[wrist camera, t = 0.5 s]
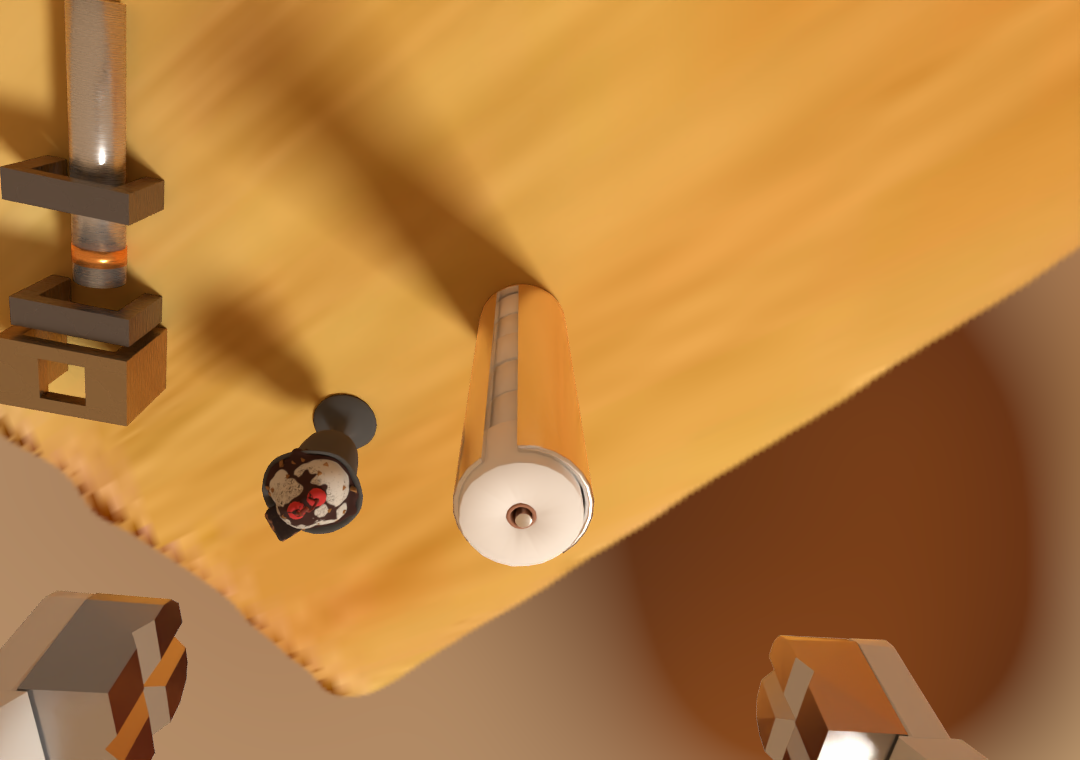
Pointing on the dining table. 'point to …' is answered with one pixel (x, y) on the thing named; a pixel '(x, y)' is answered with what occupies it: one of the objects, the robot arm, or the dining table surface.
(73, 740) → the robot arm
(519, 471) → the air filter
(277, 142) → the dining table surface
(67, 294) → the collar
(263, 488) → the sundae
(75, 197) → the collar
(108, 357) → the aperture bridge
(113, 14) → the tube
